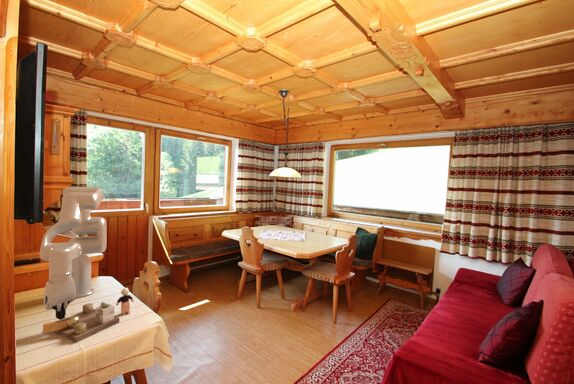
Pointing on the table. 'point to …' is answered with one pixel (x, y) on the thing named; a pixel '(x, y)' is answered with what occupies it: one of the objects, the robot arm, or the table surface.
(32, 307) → the table surface
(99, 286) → the table surface
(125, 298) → the grandmother figurine
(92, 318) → the base
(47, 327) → the orange lever bar
